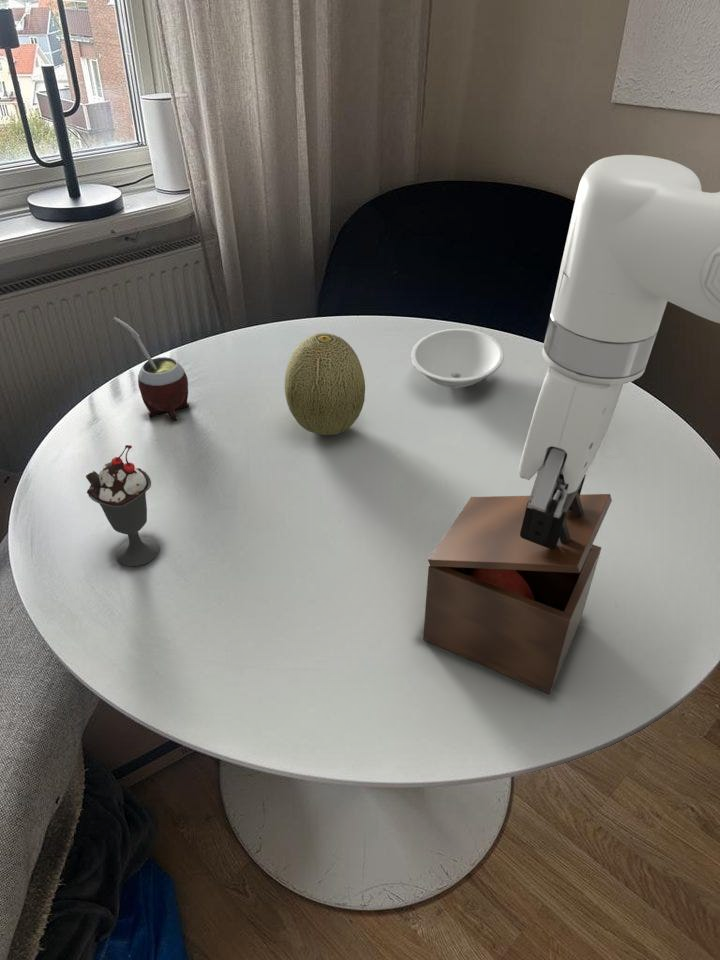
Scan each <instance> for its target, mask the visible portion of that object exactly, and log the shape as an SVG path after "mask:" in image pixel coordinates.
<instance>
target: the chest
mask: <svg viewBox="0 0 720 960" xmlns="http://www.w3.org/2000/svg"><path fill="white" fill-rule="evenodd" d="M601 551H602V547H601V546H599V545H595V544H594V543H593V544H592V546H591V549H590V551H589V553H588V555H587V558H586V560H585V562H584V564H583V567H582V569H581V571H580V573H568V572H547V571H526V570H515V571H517V572H518V573H519V574H520V575H521V576H522V577H523V579H524V580H525V581H526V583H527V584H528V586H529V587H530V589H531V591H532V594H533V596H534V600H531V599H529V598H526V597H523V596H521V595H518V594H516V593H513V592H510V591H508V590H505V589H502V588H500V587H497V586H495V585H492V584H489V583H487V582H484V581H482V580H479V579H476V578H474V577H471V576H468V575H467V574H466V573H465V572H464V571H462V570H460V568H461V567H440V566H430V564H428V569H427V583H426V596H425V606H424V607H425V610H424V621H423V622H424V623H423V632H422V633H423V635H422V639H423V641H425V642H428V643H430V644H432V645H435V646H437V647H440V648H442V649H444V650H446V651H449V652H451V653H453V654H455V655H458V656H460V657H463V658H464V659H467V660H469V661H472V662H475V663H476V664H479V665H481V666H484V667H485V668H488V669H490V670H493V671H495V672H497V673H499V674H502V675H504V676H507V677H509V678H512V679H513V680H516V681H518V682H521V683H522V684H525V685H528V686H530V687H531V688H535V689H537V690H539V691H541V692H543V693H546V694H549V695H551V693H552V691H553V689H554V686H555V684H556V682H557V680H558V679H557V678H558V676H559V674H560V671H561V669H562V667H563V664H564V662H565V659H566V657H567V654H568V652H569V650H570V647H571V645H572V643H573V640H574V637H575V635H576V632H577V630H578V628H579V625H580V623H581V622H582V618H583V614H584V611H585V607H586V603H587V600H588V596H589V592H590V589H591V586H592V582H593V579H594V575H595V571H596V569H597V565H598V563H599V558H600V554H601ZM463 569H464V570H465V571H466V572H467V573H468V574H469V575H470V574H471V573H472V571H473V570H474V569H475V568H463Z"/></svg>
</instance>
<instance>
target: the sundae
mask: <svg viewBox="0 0 720 960" xmlns="http://www.w3.org/2000/svg"><path fill="white" fill-rule="evenodd" d="M132 448H133V445H131V444H130V445H129V444H126V445H124V449H123V450H122V452H121V453H120V455H119V456H115V457H113V458H112V459H111V461H110V462H108V463H105V464H104V465H103V467H102V468H101V469H100V470H99V473H98V472H96V471H95V470H93V471H92V472H91V471H90V472H89V473H87V474H86V475H85V478H86V480H87V481H88V482H89V484H90V485H89V488H88V489H87V490H86V494H88V495H87V496H88V497H89V498H90V500H92V501H93V502H95V503H97V504H98V505H99V506H100V507H101V510H102V511H103V514H104V516H105V517H106V519H107V521H108V523H109V524H110V526H111V527H112V528H113V530H115V531H116V532H117V533H120V534H123V535H127V537H128V540H126V541H125V542H123V543H122V544H121V545H120V546H119V547H118V549H117V551H116V559H117V561H118V562H119V563H120V564H121V565H123V566H127V567H139V566H143V565H146V564H147V563H150V562H151V561H153V560H154V559H155V558H156V557H157V555H158V553H159V552H160V544H159V543H158V542H157V540H155V539H153V538H151V537H149V536H140V534H139V531H141V530H142V529H143V528H144V527H145V525H146V524H147V521H148V505H147V497H146V496H147V495H146V494H147V491H149V490H150V488H152V487H151V486H152V479H151V476H150V475H149V474H148V473H147V472H146V471H145V470H143V469H142V468H140V467H137V468H136V467H135V466H136V465H135V464H134V463H133V462H129V461H128V453H129V451H130V449H132ZM126 449H127V451H126V453H125V450H126ZM124 453H125V463H124V461H123V458H121V457H122V456H123V455H124Z"/></svg>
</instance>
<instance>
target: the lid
mask: <svg viewBox="0 0 720 960" xmlns="http://www.w3.org/2000/svg"><path fill="white" fill-rule="evenodd" d="M580 486H581V483H580V485H579V487H578V489H577V490H576V491H575V492H573V493H570V494H569V495H568V498H567V501H566V504H565V507H564V510H563V512H565V513H566V516H565V519H564V523H563V526H562V529H561V533H560V536H559V540H558V543H557V545H556V547H555V549H549V548H546V547H544V546H541V545H539V544H536V543H533V542H531V541H528V540H526V539H523V538H522V537H521V536H520V532H521V528H522V523H523V519H524V515H525V511H526V507H527V503H528V501H529V499H530V496H531V495H502V496H499V495H498V496H496V495H495V496H493V495H492V496H471V497H469V499H468V500H467V502H466V503H465V505H464V507H463V508H462V509H461V511H460V512H459V514H458V515H457V517H456V518H455V520H454V521H453V522H452V523H451V524H450V527H449V528H448V530H447V531H446V532H445V534H444V535H443V536H442V538H441V540H440V541H439V542H438V544H437V546H435V548H434V549H433V551H432V553H430V556H429V557H428V559H427V562H428V565H430V566H440V567H461V568H483V569H504V570H526V571H547V572H568V573H580V571H581V569H582V567H583V564H584V562H585V560H586V558H587V555H588V553H589V551H590V549H591V546H592V544H593V545H594V542H595V540H596V537H597V535H598V533H599V530H600V528H601V526H602V524H603V522H604V520H605V517H606V515H607V513H608V510H609V508H610V506H611V504H612V501H613V500H612V496H611V493H591V494H590V493H588V494H580V496H579V494H578V490H579V488H580ZM560 493H561V491H560V490H557V492H556V493H555V495H554V497H553V499H554V500H556V501H557V502H558V499H559V496H560ZM570 506H572V510H569V508H570Z"/></svg>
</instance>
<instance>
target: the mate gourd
mask: <svg viewBox="0 0 720 960" xmlns="http://www.w3.org/2000/svg"><path fill="white" fill-rule="evenodd" d="M113 320H114V321H116V322H117V323H119V324H120V325H121V326H122V327H124V328H125V329H126V330H127V331H129V333H130V335H131V337H133V340H135V341H136V343H137V344H138V347H139V348H140V349H141V351H142V353H143V355H144V356H145V358H146V360H147V361H145V362H144V363H143V364H142V365H141V366H140V368H139V369H140V370H139V372H138V375H137V378H138V379H137V384H138V385H137V386H138V389H139V392H140V396H141V399H142V402H143V404H144V405H145V407H146V409H147V411H148V413H147V415H148V418H156V417H159V416H163V415H167V416H168V417H169V419H170V421H171V422H172V423H174V422H177V421H178V418H177V415H176V414H175V412H179V411H183V410H186V409H189V408H190V403H189V402H188V398H189V378H188V375H187V374H186V371H185V368H184V367H183V366H182V364H181V363H180V362H179V361H177V360H176V359H174V358H173V357H166V356H161V357H154V358H151V356H150V354H149V352H148V350H147V349H146V347H145V345H144V344H143V342H142V340H141V338H140V335H139V334H138V332H137V331H136V330H135V329H134V328H132V327H131V326H130V325H129V323H126V322H125V321H123V320H121V319H120V318H118V317H117V316H114V317H113Z"/></svg>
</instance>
